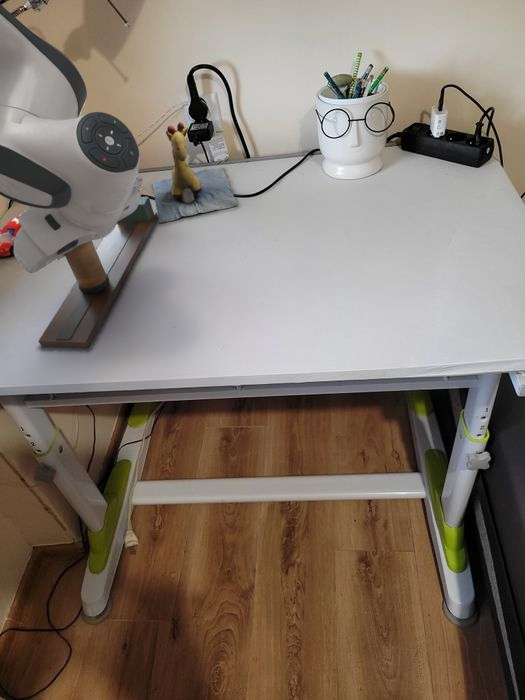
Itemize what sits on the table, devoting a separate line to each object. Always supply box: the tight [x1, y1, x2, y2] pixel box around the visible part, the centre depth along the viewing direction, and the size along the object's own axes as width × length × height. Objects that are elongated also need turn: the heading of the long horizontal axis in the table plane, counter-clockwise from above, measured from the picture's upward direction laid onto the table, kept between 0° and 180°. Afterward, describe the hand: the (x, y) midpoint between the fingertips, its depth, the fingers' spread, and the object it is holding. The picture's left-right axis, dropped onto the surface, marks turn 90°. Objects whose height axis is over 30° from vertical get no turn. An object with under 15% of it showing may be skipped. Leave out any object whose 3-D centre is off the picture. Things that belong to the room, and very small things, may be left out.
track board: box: [37, 211, 159, 349], centre depth 91 cm, size 37×8×1 cm, turn 171°
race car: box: [0, 214, 22, 257], centre depth 101 cm, size 13×5×4 cm, turn 153°
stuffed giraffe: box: [152, 121, 238, 223], centre depth 103 cm, size 16×18×16 cm
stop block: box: [118, 196, 154, 222], centre depth 100 cm, size 3×7×5 cm, turn 81°
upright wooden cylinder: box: [64, 240, 109, 294], centre depth 81 cm, size 5×5×15 cm
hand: (74, 244), depth 81 cm, fingers closed on upright wooden cylinder, 5 cm apart
